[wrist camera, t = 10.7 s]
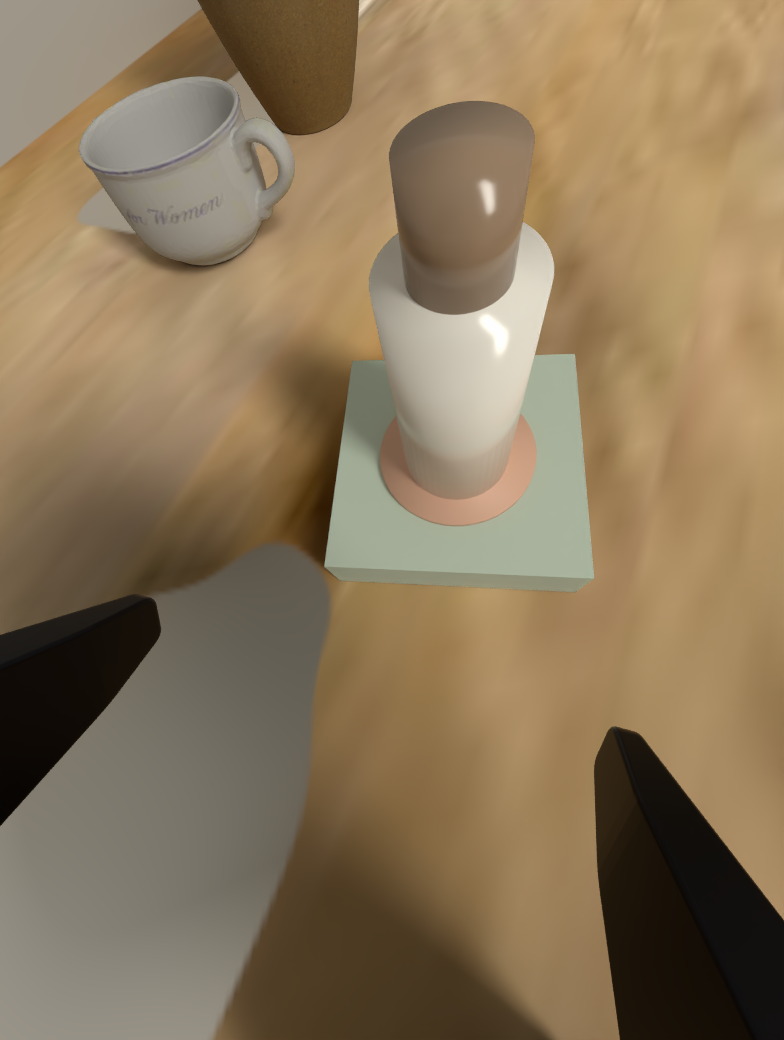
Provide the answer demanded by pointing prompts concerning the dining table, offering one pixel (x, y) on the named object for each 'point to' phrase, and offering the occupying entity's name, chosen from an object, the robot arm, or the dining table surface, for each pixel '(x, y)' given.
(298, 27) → the plant pot
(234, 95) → the teacup
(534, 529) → the stacking base
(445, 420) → the cosmetic bottle
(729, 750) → the dining table surface
